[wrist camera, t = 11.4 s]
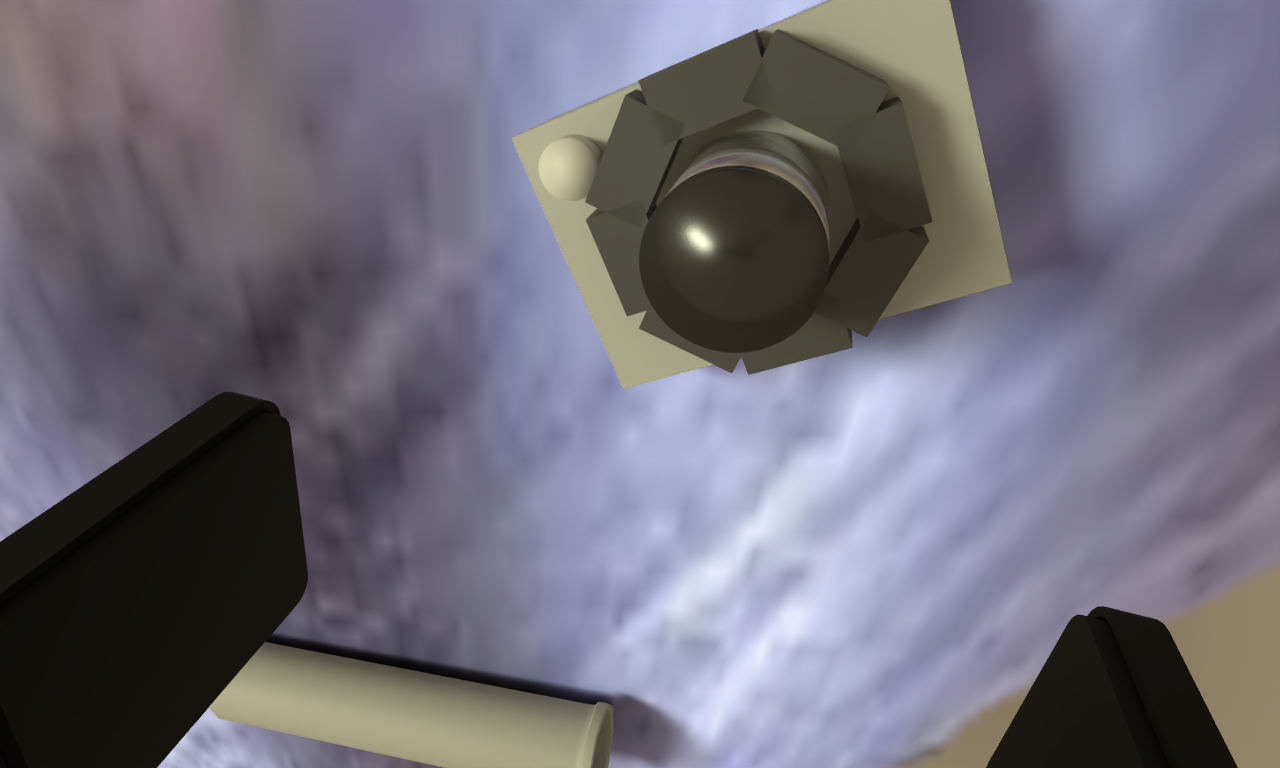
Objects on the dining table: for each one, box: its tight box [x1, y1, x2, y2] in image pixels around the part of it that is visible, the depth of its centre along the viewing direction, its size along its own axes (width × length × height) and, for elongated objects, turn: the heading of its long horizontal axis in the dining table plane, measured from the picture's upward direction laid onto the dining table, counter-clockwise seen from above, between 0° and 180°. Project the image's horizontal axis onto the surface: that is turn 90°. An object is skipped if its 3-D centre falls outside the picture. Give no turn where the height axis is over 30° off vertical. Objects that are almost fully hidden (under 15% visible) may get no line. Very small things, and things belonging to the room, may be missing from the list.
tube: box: [209, 642, 614, 768], centre depth 45 cm, size 5×5×25 cm
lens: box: [639, 130, 829, 353], centre depth 23 cm, size 5×5×6 cm
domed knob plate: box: [511, 0, 1012, 389], centre depth 26 cm, size 14×10×6 cm
